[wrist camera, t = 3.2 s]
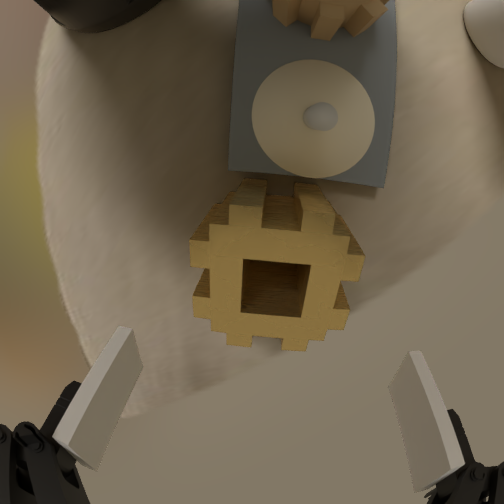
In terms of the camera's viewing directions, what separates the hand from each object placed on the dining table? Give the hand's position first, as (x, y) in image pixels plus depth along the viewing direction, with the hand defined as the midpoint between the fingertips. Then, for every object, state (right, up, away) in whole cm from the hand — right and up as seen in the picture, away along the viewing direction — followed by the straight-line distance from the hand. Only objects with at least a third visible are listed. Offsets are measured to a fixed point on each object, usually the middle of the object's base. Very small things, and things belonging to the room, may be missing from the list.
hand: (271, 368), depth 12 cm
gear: (+1, +6, +12) cm, 14 cm away
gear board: (+4, +20, +5) cm, 21 cm away
